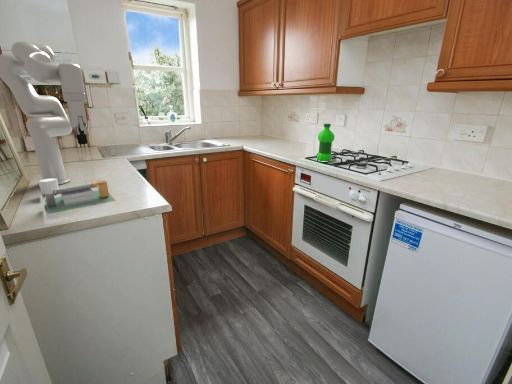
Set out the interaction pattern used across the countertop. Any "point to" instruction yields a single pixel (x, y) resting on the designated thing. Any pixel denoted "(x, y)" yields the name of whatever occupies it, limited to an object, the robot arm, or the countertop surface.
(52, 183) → the white grey cylinder
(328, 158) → the plastic bottle
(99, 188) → the block
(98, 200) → the circuit board
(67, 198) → the heat sink
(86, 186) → the strap
